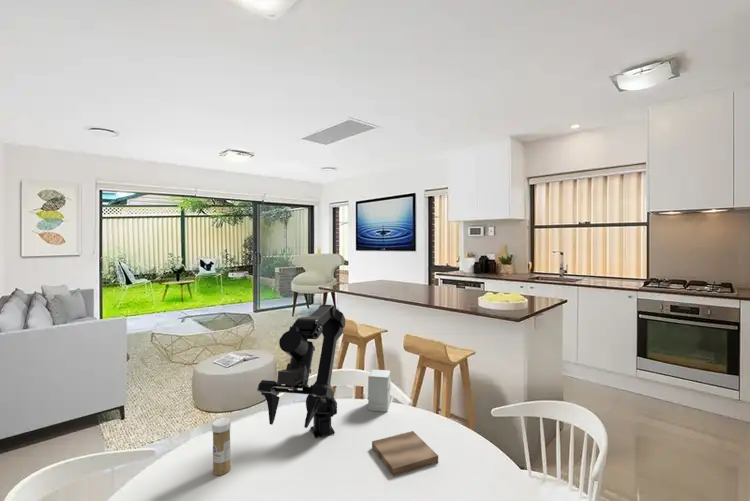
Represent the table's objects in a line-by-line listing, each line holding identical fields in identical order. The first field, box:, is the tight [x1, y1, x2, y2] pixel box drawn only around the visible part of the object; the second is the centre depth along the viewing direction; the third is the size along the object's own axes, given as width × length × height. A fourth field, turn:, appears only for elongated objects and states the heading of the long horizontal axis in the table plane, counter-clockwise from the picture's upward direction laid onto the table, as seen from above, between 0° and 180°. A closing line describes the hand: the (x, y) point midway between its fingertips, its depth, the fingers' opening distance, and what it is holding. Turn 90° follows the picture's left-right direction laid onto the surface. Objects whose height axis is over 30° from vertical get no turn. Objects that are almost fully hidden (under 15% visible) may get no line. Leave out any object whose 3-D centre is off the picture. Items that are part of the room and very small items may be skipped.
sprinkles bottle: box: [211, 417, 232, 476], centre depth 97 cm, size 5×5×13 cm
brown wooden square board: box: [371, 430, 439, 477], centre depth 103 cm, size 14×14×2 cm
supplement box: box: [367, 369, 391, 413], centre depth 133 cm, size 7×7×13 cm
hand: (288, 426), depth 90 cm, fingers open, 9 cm apart
